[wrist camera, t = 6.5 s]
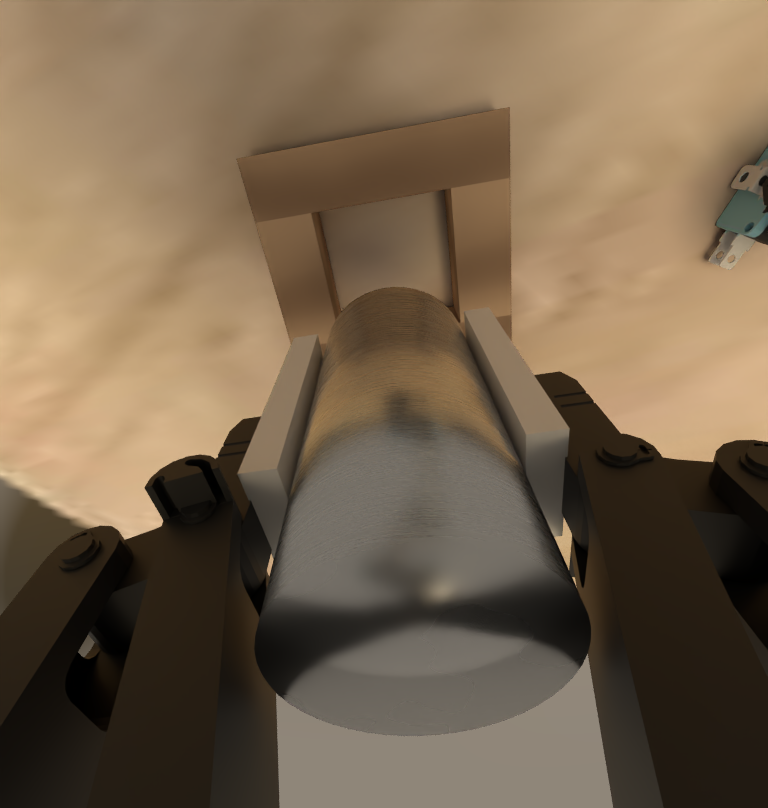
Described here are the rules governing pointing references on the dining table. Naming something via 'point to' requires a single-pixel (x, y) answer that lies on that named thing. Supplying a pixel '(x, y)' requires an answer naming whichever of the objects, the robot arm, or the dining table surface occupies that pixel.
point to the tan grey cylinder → (413, 542)
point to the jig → (381, 180)
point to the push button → (744, 214)
